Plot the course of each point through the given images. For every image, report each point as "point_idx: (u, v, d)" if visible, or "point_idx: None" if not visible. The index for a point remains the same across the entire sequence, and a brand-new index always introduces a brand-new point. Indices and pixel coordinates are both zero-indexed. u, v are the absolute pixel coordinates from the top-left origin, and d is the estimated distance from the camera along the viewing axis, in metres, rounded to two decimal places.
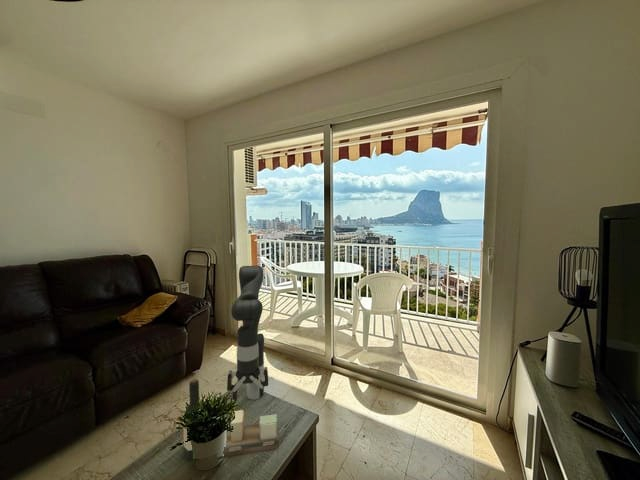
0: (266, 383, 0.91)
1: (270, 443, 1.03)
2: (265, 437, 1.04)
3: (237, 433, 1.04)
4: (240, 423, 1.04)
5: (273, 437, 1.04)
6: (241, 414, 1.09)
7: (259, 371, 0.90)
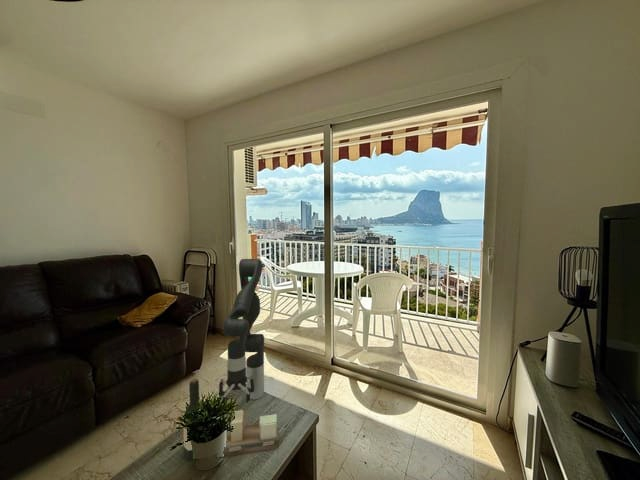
0: (252, 390, 1.07)
1: (270, 443, 1.03)
2: (265, 437, 1.04)
3: (237, 433, 1.04)
4: (240, 423, 1.04)
5: (273, 437, 1.04)
6: (241, 414, 1.09)
7: (246, 379, 1.07)
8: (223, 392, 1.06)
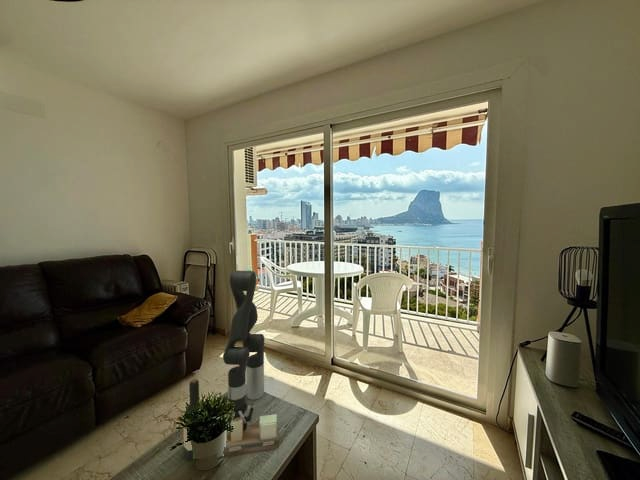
0: (249, 419, 1.07)
1: (270, 443, 1.03)
2: (265, 437, 1.04)
3: (237, 433, 1.04)
4: (240, 423, 1.04)
5: (273, 437, 1.04)
6: None
7: (247, 407, 1.07)
8: None
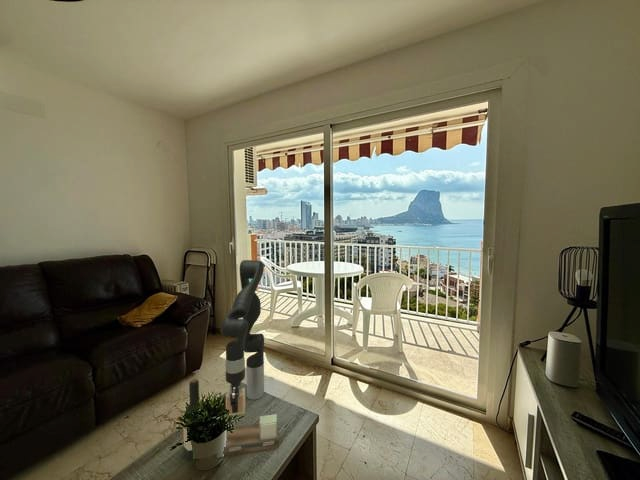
0: None
1: (270, 443, 1.03)
2: (265, 437, 1.04)
3: None
4: (226, 397, 1.01)
5: (273, 437, 1.04)
6: (237, 394, 1.01)
7: (232, 389, 0.98)
8: None
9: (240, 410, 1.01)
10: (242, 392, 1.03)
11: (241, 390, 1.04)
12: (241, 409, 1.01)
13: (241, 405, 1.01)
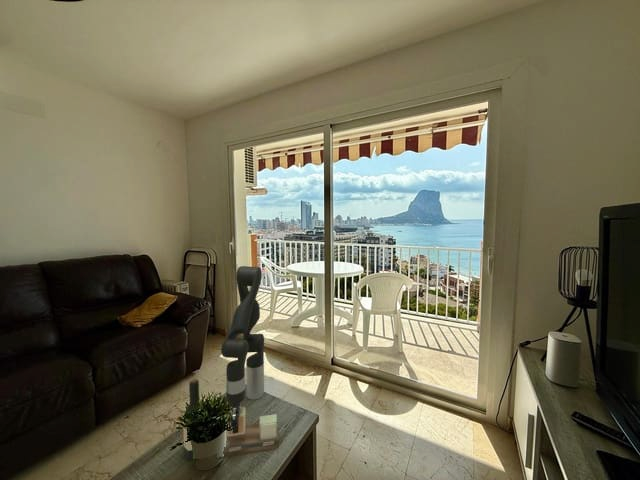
0: (231, 424, 0.98)
1: (270, 443, 1.03)
2: (265, 437, 1.04)
3: None
4: None
5: (273, 437, 1.04)
6: None
7: (232, 410, 0.99)
8: None
9: (240, 430, 1.02)
10: (242, 412, 1.03)
11: (241, 410, 1.04)
12: (241, 429, 1.02)
13: (241, 425, 1.02)
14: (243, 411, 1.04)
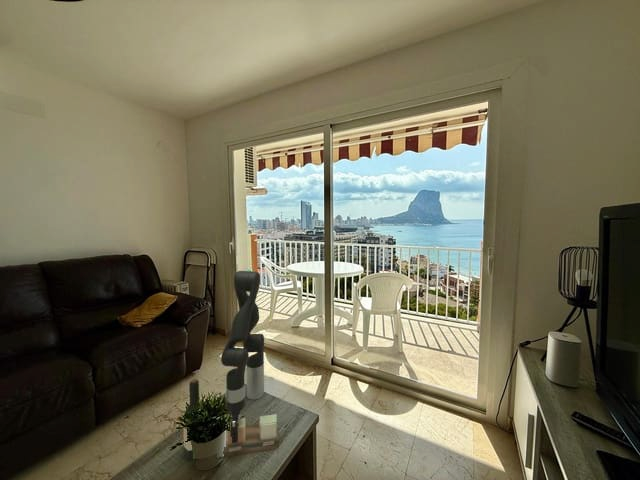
0: None
1: (270, 443, 1.03)
2: (265, 437, 1.04)
3: None
4: None
5: (273, 437, 1.04)
6: None
7: (232, 418, 0.99)
8: None
9: (240, 441, 1.02)
10: (242, 423, 1.04)
11: (241, 421, 1.05)
12: (241, 440, 1.02)
13: (241, 437, 1.02)
14: (243, 422, 1.04)
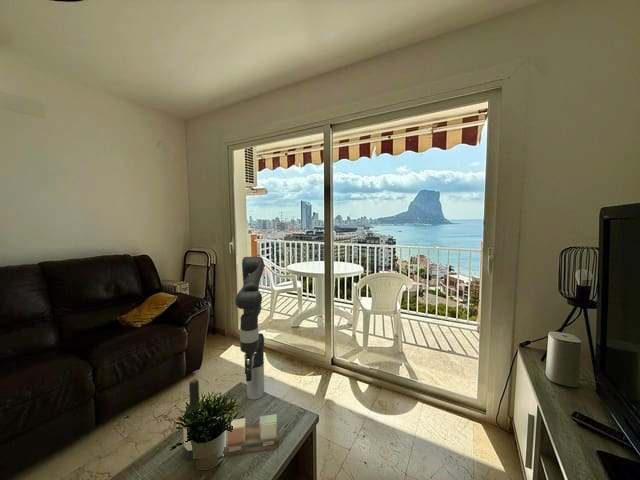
0: (245, 371, 1.00)
1: (270, 443, 1.03)
2: (265, 437, 1.04)
3: None
4: None
5: (273, 437, 1.04)
6: (237, 426, 1.02)
7: (246, 357, 1.02)
8: None
9: (240, 441, 1.02)
10: (242, 423, 1.04)
11: (241, 421, 1.05)
12: (241, 440, 1.02)
13: (241, 437, 1.02)
14: (243, 422, 1.04)
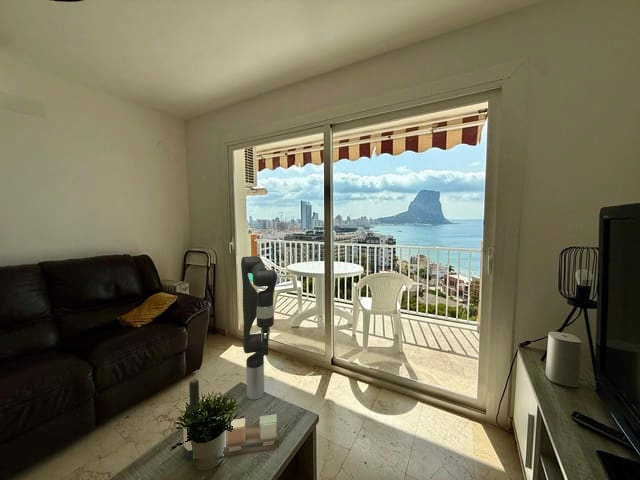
0: (262, 345, 1.05)
1: (270, 443, 1.03)
2: (265, 437, 1.04)
3: None
4: None
5: (273, 437, 1.04)
6: (237, 426, 1.02)
7: (263, 332, 1.08)
8: None
9: (240, 441, 1.02)
10: (242, 423, 1.04)
11: (241, 421, 1.05)
12: (241, 440, 1.02)
13: (241, 437, 1.02)
14: (243, 422, 1.04)
